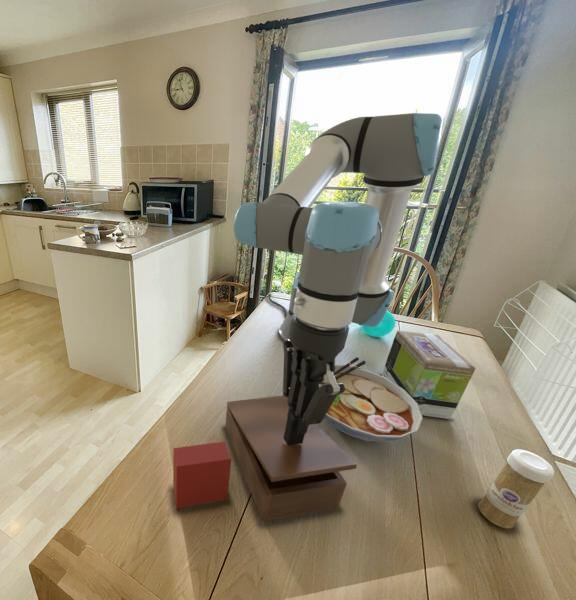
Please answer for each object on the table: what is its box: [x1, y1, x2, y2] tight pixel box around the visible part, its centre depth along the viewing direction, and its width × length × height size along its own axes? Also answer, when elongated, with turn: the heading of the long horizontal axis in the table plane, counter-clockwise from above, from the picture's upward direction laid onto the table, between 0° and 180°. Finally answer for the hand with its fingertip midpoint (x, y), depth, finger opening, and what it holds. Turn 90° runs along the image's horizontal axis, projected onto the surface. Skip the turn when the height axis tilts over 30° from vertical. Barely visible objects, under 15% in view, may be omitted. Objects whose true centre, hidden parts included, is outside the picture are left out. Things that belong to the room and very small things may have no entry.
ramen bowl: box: [323, 356, 424, 442], centre depth 70 cm, size 25×23×8 cm
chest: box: [224, 405, 348, 521], centre depth 60 cm, size 20×14×7 cm
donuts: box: [360, 310, 397, 338], centre depth 107 cm, size 10×10×10 cm
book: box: [172, 441, 232, 511], centre depth 53 cm, size 4×9×11 cm, turn 99°
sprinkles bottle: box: [477, 448, 555, 530], centre depth 50 cm, size 5×5×14 cm
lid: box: [226, 394, 358, 482], centre depth 57 cm, size 21×14×1 cm, turn 9°
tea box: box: [381, 330, 476, 420], centre depth 76 cm, size 15×10×15 cm
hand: (292, 440), depth 53 cm, fingers closed
